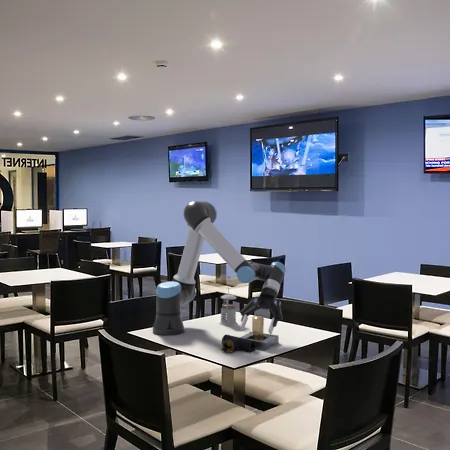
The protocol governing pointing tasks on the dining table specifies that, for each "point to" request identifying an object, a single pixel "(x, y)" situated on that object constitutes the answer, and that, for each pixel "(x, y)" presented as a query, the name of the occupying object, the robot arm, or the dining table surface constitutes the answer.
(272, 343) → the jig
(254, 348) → the pipe connector
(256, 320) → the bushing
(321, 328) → the dining table surface
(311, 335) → the dining table surface
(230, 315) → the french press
